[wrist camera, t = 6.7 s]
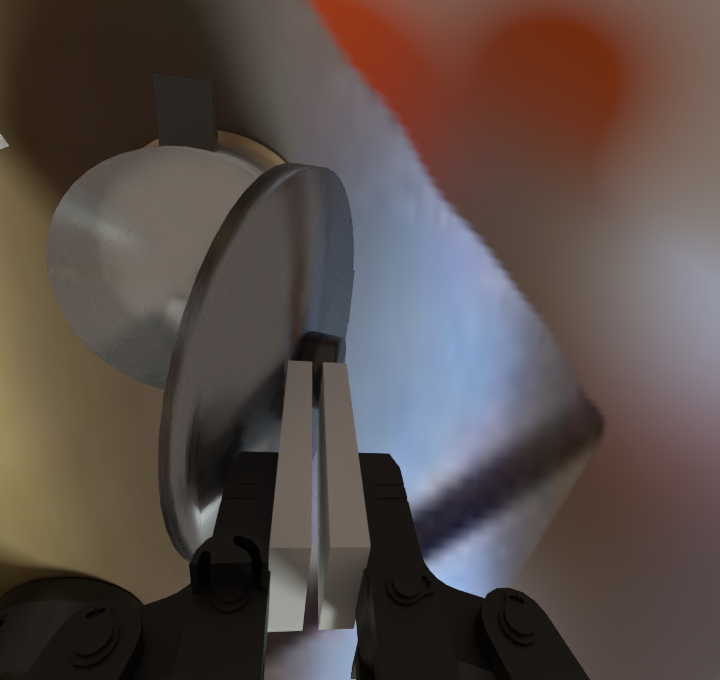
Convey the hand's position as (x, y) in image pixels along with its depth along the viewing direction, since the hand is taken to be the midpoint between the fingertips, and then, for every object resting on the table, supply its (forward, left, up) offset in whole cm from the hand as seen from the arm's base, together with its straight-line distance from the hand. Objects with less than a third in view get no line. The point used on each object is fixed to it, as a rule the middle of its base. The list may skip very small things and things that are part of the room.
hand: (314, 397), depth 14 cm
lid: (-1, 0, -3) cm, 3 cm away
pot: (-6, 0, -17) cm, 18 cm away
